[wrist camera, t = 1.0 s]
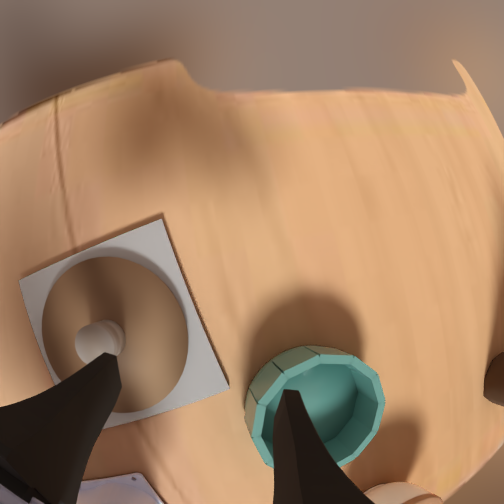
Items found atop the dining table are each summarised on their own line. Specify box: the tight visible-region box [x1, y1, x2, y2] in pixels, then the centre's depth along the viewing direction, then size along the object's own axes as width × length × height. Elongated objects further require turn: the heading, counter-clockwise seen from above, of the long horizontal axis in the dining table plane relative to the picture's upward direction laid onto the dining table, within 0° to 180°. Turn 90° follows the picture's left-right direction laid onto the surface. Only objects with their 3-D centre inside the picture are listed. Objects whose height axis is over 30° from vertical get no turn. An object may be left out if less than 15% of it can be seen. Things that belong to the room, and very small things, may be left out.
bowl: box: [244, 345, 385, 468], centre depth 22 cm, size 11×11×4 cm
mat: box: [19, 219, 230, 429], centre depth 22 cm, size 15×15×1 cm
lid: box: [42, 256, 189, 413], centre depth 20 cm, size 13×13×4 cm
